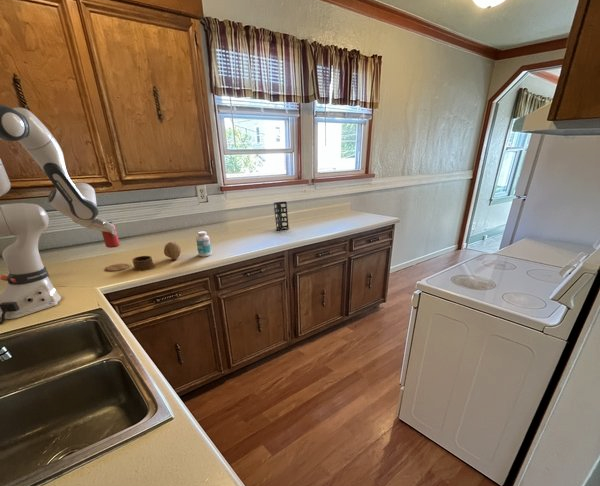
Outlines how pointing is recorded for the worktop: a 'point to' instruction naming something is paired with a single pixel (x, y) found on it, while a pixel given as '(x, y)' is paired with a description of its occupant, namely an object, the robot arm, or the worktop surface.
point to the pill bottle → (203, 244)
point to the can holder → (143, 263)
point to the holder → (279, 215)
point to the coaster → (117, 267)
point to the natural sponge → (172, 250)
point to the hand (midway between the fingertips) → (110, 233)
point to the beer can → (111, 238)
